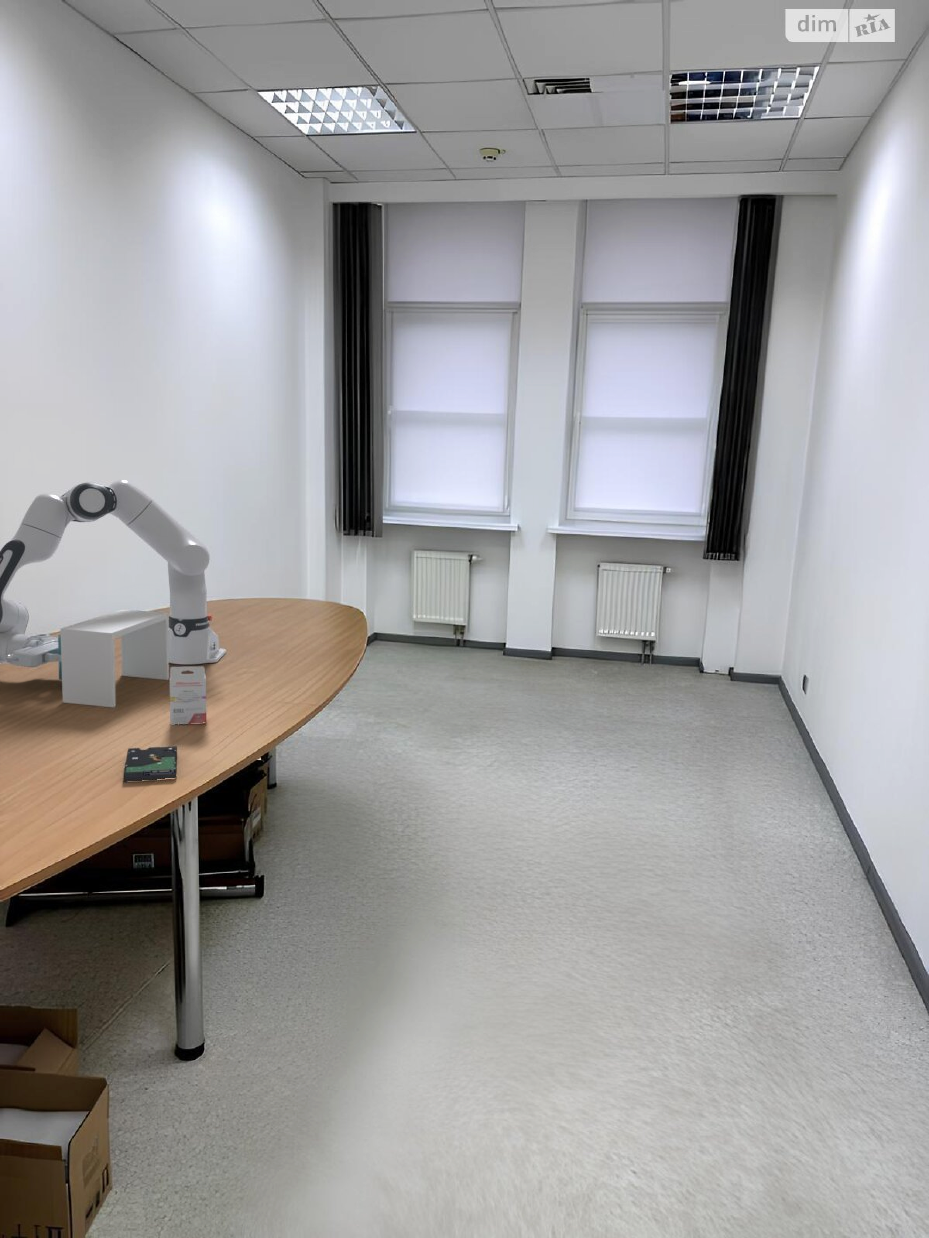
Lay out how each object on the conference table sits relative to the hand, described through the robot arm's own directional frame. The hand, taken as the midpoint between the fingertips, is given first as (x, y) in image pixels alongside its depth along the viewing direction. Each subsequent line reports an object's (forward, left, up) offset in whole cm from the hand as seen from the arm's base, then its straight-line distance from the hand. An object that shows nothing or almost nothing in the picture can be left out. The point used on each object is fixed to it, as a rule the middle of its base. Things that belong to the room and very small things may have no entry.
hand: (72, 655), depth 236 cm
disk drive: (+51, +50, -9) cm, 72 cm away
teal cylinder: (0, -1, -6) cm, 7 cm away
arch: (0, +13, -9) cm, 16 cm away
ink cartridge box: (+20, +43, -9) cm, 49 cm away
